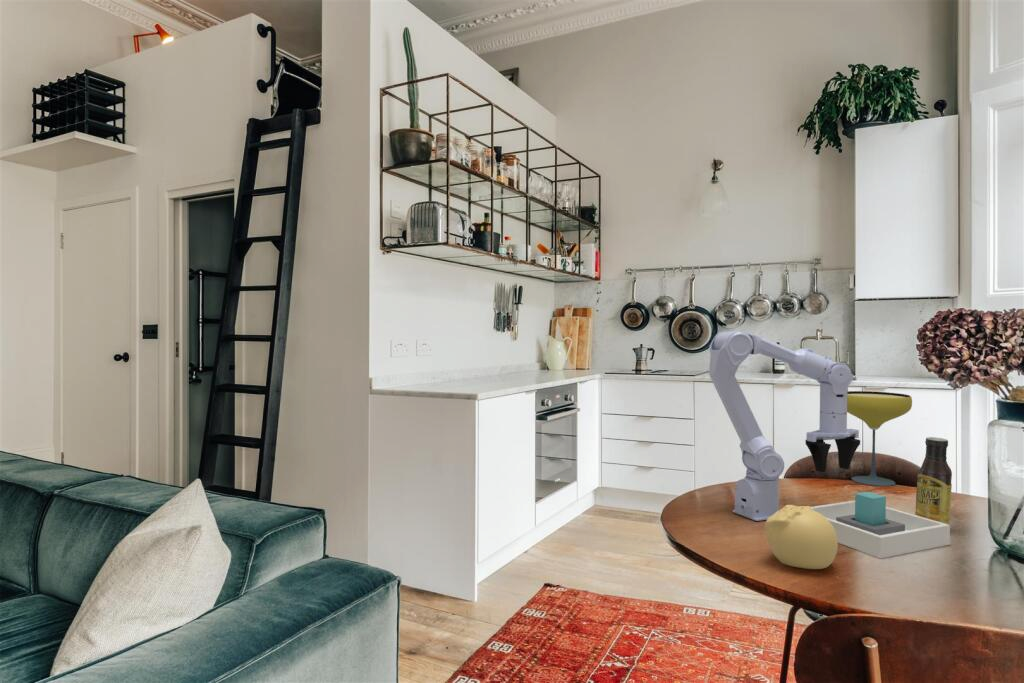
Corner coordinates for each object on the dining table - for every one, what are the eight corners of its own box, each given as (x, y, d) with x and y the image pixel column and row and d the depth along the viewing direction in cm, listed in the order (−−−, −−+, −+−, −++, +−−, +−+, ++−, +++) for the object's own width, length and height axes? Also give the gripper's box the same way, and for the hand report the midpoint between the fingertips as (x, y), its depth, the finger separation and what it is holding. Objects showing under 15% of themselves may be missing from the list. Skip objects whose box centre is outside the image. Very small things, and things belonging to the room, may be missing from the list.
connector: (872, 536, 127) (872, 498, 127) (854, 531, 131) (855, 493, 131) (885, 534, 129) (885, 496, 129) (867, 528, 133) (868, 491, 133)
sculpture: (783, 547, 123) (783, 494, 123) (847, 565, 114) (848, 507, 114) (755, 562, 115) (755, 505, 115) (821, 582, 106) (822, 520, 106)
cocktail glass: (830, 482, 175) (831, 394, 174) (845, 471, 189) (846, 389, 188) (905, 493, 163) (906, 399, 163) (915, 480, 177) (916, 393, 177)
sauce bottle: (908, 525, 137) (909, 436, 136) (928, 522, 139) (929, 434, 138) (937, 535, 131) (939, 441, 130) (957, 531, 133) (959, 439, 132)
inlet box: (880, 558, 117) (881, 537, 117) (796, 527, 136) (796, 509, 136) (949, 544, 125) (950, 525, 125) (860, 516, 143) (860, 499, 143)
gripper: (824, 416, 138) (823, 476, 139) (870, 413, 144) (869, 471, 144) (799, 412, 145) (798, 469, 145) (844, 409, 150) (843, 464, 151)
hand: (832, 470), depth 145 cm, fingers open, 7 cm apart
